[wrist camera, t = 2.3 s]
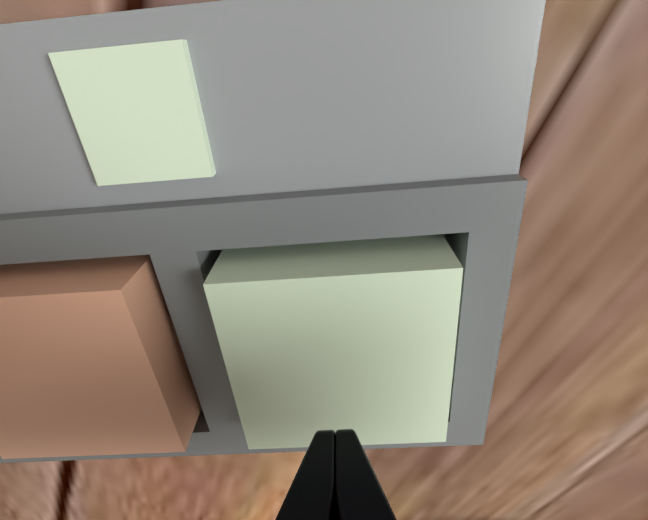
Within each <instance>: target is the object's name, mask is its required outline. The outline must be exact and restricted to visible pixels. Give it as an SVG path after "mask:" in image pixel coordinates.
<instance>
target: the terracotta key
mask: <svg viewBox="0 0 648 520" xmlns="http://www.w3.org/2000/svg"><path fill="white" fill-rule="evenodd" d="M201 408H202V407H201V404H200V401H199V398H198V395H197V392H196V390H195V387H194V384H193V381H192V378H191V375H190V372H189V369H188V366H187V363H186V360H185V357H184V354H183V351H182V348H181V345H180V343H179V340H178V337H177V334H176V331H175V328H174V325H173V322H172V319H171V316H170V313H169V310H168V307H167V304H166V301H165V298H164V295H163V293H162V290H161V287H160V284H159V281H158V278H157V275H156V272H155V269H154V266H153V263H152V260H151V257H150V254H148V255H134V256H120V257H105V258H91V259H76V260H62V261H48V262H33V263H19V264H4V265H0V456H1V457H2V459H16V458H42V457H67V456H93V455H119V454H145V453H171V452H186V449H187V446H188V444H189V441H190V438H191V435H192V433H193V430H194V427H195V425H196V422H197V419H198V416H199V414H200V411H201Z"/></svg>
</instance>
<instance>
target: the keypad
mask: <svg viewBox="0 0 648 520" xmlns="http://www.w3.org/2000/svg"><path fill="white" fill-rule="evenodd" d="M545 1H546V0H223V1H213V2H204V3H195V4H186V5H176V6H167V7H158V8H148V9H139V10H130V11H120V12H111V13H102V14H93V15H83V16H74V17H65V18H55V19H46V20H37V21H27V22H18V23H9V24H0V265H4V264H19V263H33V262H48V261H62V260H76V259H91V258H105V257H120V256H134V255H148V254H150V257H151V260H152V263H153V266H154V269H155V272H156V275H157V278H158V281H159V284H160V287H161V290H162V293H163V295H164V298H165V301H166V304H167V307H168V310H169V313H170V316H171V319H172V322H173V325H174V328H175V331H176V334H177V337H178V340H179V343H180V345H181V348H182V351H183V354H184V357H185V360H186V363H187V366H188V369H189V372H190V375H191V378H192V381H193V384H194V387H195V390H196V392H197V395H198V398H199V401H200V404H201V407H202V408H201V411H200V414H199V416H198V419H197V422H196V425H195V427H194V430H193V433H192V435H191V438H190V441H189V444H188V446H187V449H186V452H171V453H145V454H119V455H93V456H67V457H42V458H16V459H2V457H1V456H0V463H10V462H36V461H63V460H89V459H115V458H141V457H168V456H194V455H220V454H247V453H273V452H299V451H307V450H308V448H309V447H300V448H274V449H248V445H247V442H246V438H245V434H244V431H243V427H242V424H241V420H240V416H239V413H238V409H237V406H236V402H235V398H234V395H233V391H232V388H231V384H230V380H229V377H228V373H227V370H226V366H225V362H224V359H223V355H222V352H221V348H220V344H219V341H218V337H217V334H216V330H215V326H214V323H213V319H212V316H211V312H210V308H209V305H208V301H207V298H206V294H205V290H204V287H203V284H204V282H205V280H206V278H207V276H208V275H209V273H210V271H211V269H212V268H213V266H214V264H215V262H216V260H217V259H218V257H219V255H220V253H221V252H222V250H223V249H235V248H249V247H264V246H278V245H292V244H307V243H321V242H336V241H350V240H364V239H379V238H393V237H408V236H422V235H436V234H443V236H444V237H445V239H446V241H447V242H448V244H449V245H450V247H451V249H452V250H453V252H454V254H455V255H456V257H457V258H458V260H459V262H460V263H461V265H462V267H463V276H462V286H461V296H460V306H459V316H458V326H457V336H456V346H455V356H454V367H453V377H452V387H451V397H450V407H449V417H448V427H447V437H446V442H430V443H404V444H378V445H362V447H363V449H378V448H404V447H430V446H457V445H483V442H484V436H485V430H486V424H487V418H488V412H489V406H490V401H491V395H492V389H493V383H494V377H495V371H496V365H497V359H498V353H499V348H500V342H501V336H502V330H503V324H504V318H505V312H506V306H507V300H508V295H509V289H510V283H511V277H512V271H513V265H514V259H515V253H516V247H517V242H518V236H519V230H520V224H521V218H522V212H523V206H524V200H525V194H526V189H527V183H528V180H527V179H525V178H524V177H522V176H521V175H519V167H520V161H521V155H522V148H523V142H524V135H525V129H526V123H527V116H528V110H529V104H530V97H531V91H532V84H533V78H534V72H535V65H536V59H537V52H538V46H539V40H540V33H541V27H542V21H543V14H544V8H545Z"/></svg>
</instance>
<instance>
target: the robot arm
mask: <svg viewBox="0 0 648 520" xmlns="http://www.w3.org/2000/svg"><path fill="white" fill-rule="evenodd" d="M276 520H396V517H395V515H394V513H393V511H392V509H391V507H390V505H389V503H388V500H387V498H386V496H385V494H384V492H383V490H382V488H381V485H380V483H379V481H378V479H377V477H376V475H375V473H374V471H373V468H372V466H371V464H370V462H369V460H368V458H367V456H366V453H365V451H364V449H363V447H362V445H361V443H360V441H359V439H358V436H357V434H356V432H355V431H354V430H353V429H339V430H337V431H336V433H335V431H334V430H318V431H317V432H316V433H315V435H314V437H313V439H312V441H311V443H310V445H309V448H308V450H307V452H306V454H305V456H304V458H303V461H302V463H301V465H300V467H299V469H298V472H297V474H296V476H295V478H294V480H293V482H292V485H291V487H290V489H289V491H288V493H287V496H286V498H285V500H284V502H283V504H282V506H281V509H280V511H279V513H278V515H277V517H276Z"/></svg>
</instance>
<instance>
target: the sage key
mask: <svg viewBox="0 0 648 520" xmlns="http://www.w3.org/2000/svg"><path fill="white" fill-rule="evenodd" d="M462 276H463V267H462V265H461V263H460V262H459V260H458V258H457V257H456V255H455V254H454V252H453V250H452V249H451V247H450V245H449V244H448V242H447V241H446V239H445V237H444V236H443V234H436V235H422V236H408V237H393V238H379V239H364V240H350V241H336V242H321V243H307V244H292V245H278V246H264V247H249V248H235V249H223V250H222V252H221V253H220V255H219V257H218V259H217V260H216V262H215V264H214V266H213V268H212V269H211V271H210V273H209V275H208V276H207V278H206V280H205V282H204V284H203V287H204V290H205V294H206V298H207V301H208V305H209V308H210V312H211V316H212V319H213V323H214V326H215V330H216V334H217V337H218V341H219V344H220V348H221V352H222V355H223V359H224V362H225V366H226V370H227V373H228V377H229V380H230V384H231V388H232V391H233V395H234V398H235V402H236V406H237V409H238V413H239V416H240V420H241V424H242V427H243V431H244V434H245V438H246V442H247V445H248V449H274V448H300V447H309V445H310V443H311V441H312V439H313V437H314V435H315V433H316V432H317V431H318V430H334V431H335V433H336V431H337V430H339V429H353V430H354V431H355V432H356V434H357V436H358V439H359V441H360V443H361V445H378V444H404V443H430V442H446V437H447V427H448V417H449V407H450V397H451V387H452V377H453V367H454V356H455V346H456V336H457V326H458V316H459V306H460V296H461V286H462Z"/></svg>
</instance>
